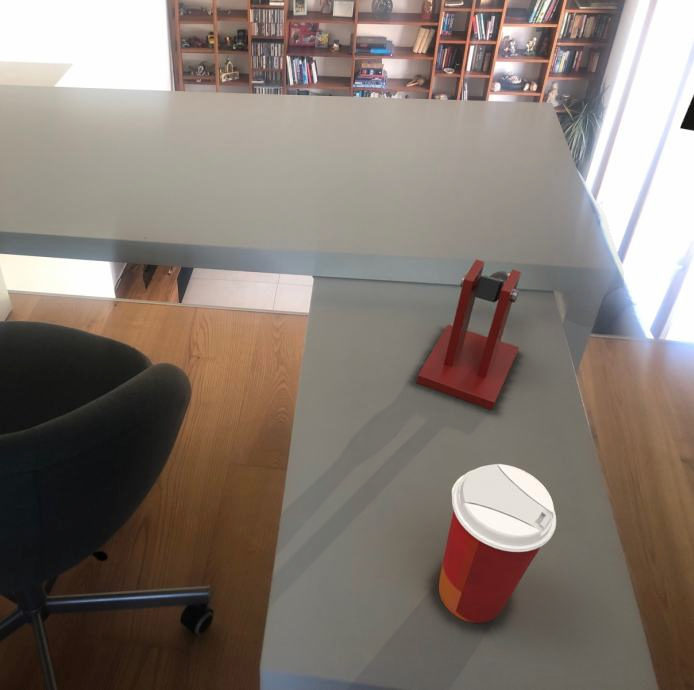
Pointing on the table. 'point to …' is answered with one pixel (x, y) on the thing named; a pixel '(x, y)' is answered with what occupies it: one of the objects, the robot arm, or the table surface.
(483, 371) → the bracket
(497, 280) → the lever
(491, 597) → the paper cup
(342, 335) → the table surface
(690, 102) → the robot arm
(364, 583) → the table surface
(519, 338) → the table surface
